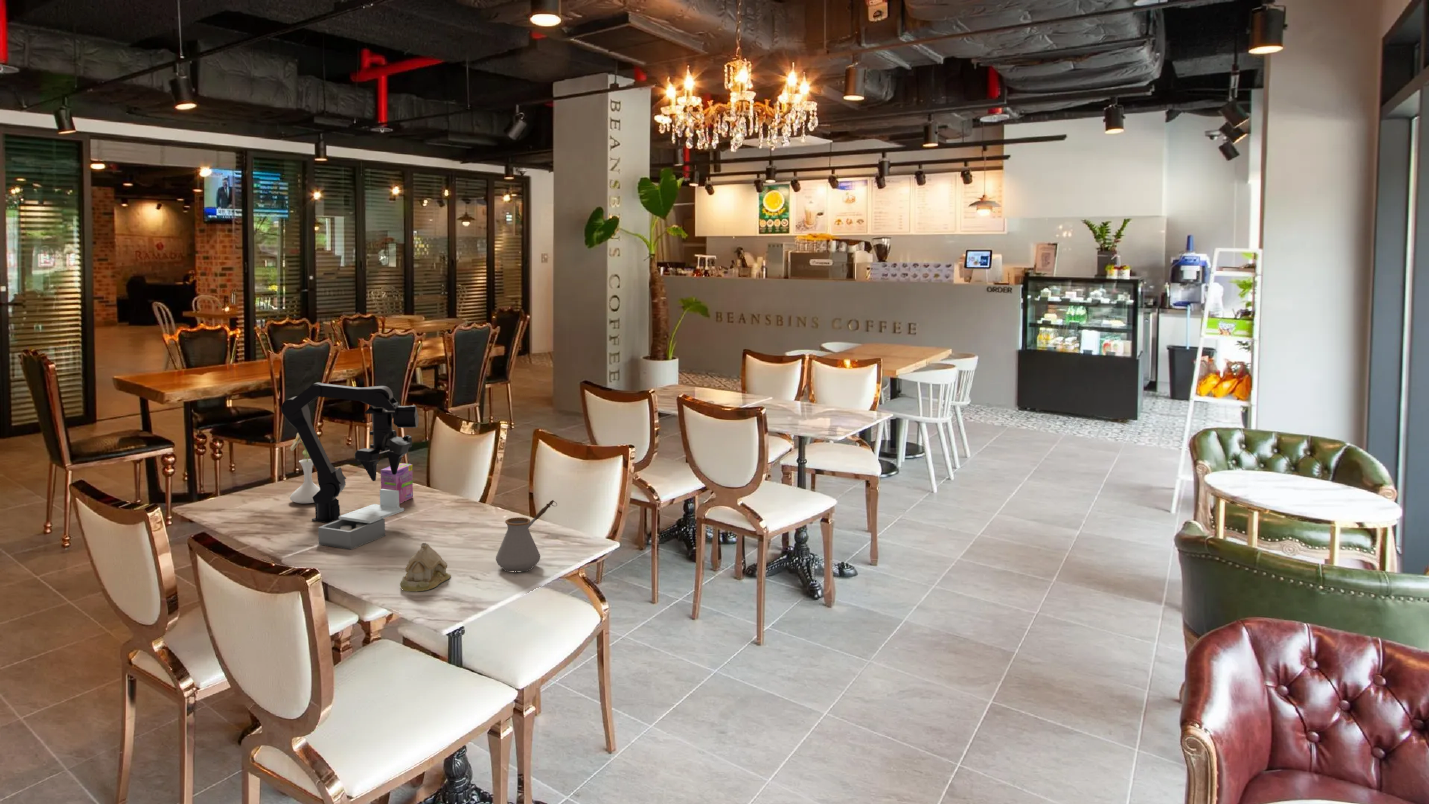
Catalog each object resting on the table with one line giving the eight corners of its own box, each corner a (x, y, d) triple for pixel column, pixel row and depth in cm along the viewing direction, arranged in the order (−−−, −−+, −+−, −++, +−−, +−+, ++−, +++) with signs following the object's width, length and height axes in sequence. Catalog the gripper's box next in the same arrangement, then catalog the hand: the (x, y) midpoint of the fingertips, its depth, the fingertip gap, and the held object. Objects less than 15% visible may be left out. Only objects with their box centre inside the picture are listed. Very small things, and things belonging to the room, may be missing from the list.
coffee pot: (521, 578, 224) (520, 521, 221) (486, 570, 229) (485, 514, 226) (571, 555, 242) (571, 502, 240) (538, 548, 248) (538, 496, 245)
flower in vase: (297, 497, 294) (293, 423, 290) (332, 497, 295) (329, 423, 291) (282, 507, 281) (278, 431, 277) (319, 507, 282) (316, 431, 278)
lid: (338, 519, 252) (337, 500, 251) (376, 505, 267) (375, 487, 266) (370, 523, 249) (369, 504, 248) (406, 509, 263) (405, 491, 262)
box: (396, 506, 286) (395, 470, 285) (381, 504, 288) (379, 469, 286) (413, 498, 297) (412, 463, 295) (398, 496, 298) (397, 462, 296)
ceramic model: (411, 572, 226) (410, 534, 225) (454, 573, 226) (454, 535, 225) (392, 592, 212) (391, 552, 211) (439, 593, 213) (438, 553, 211)
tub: (318, 544, 246) (318, 527, 245) (354, 531, 259) (353, 514, 258) (350, 549, 242) (349, 532, 241) (385, 535, 255) (384, 518, 254)
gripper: (383, 435, 256) (385, 487, 259) (424, 425, 274) (425, 473, 276) (352, 432, 260) (354, 483, 262) (394, 422, 277) (396, 470, 280)
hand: (384, 477), depth 270 cm, fingers open, 9 cm apart
